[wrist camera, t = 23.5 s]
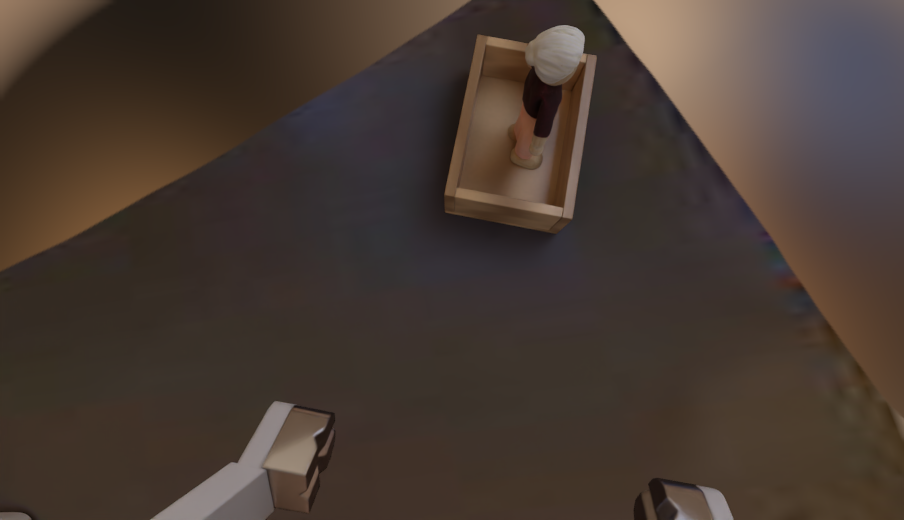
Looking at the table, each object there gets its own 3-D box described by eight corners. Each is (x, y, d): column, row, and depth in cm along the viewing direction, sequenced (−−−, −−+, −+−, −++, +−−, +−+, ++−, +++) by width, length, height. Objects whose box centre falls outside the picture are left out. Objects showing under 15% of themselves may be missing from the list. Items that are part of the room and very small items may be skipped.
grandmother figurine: (557, 176, 35) (617, 90, 23) (513, 185, 35) (549, 103, 23) (536, 94, 36) (580, -30, 24) (493, 102, 36) (516, -18, 24)
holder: (444, 212, 35) (444, 195, 31) (474, 70, 38) (477, 34, 33) (556, 234, 35) (572, 219, 30) (579, 89, 37) (597, 55, 33)
